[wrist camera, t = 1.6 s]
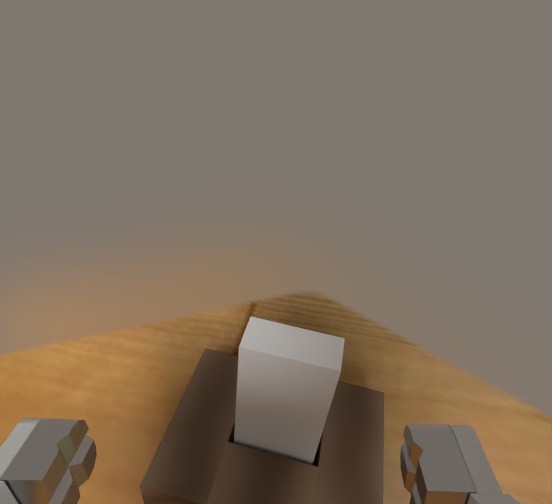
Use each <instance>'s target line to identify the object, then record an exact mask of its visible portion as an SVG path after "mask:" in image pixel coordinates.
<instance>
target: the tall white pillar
mask: <svg viewBox="0 0 552 504" xmlns="http://www.w3.org/2000/svg"><path fill="white" fill-rule="evenodd" d="M344 341H345V338H340V337H336V336H332V335H328V334H323V333H319V332H315V331H311V330H306V329H302V328H298V327H294V326H289V325H285V324H281V323H276V322H272V321H268V320H264V319H259V318H255V317H250V320H249V322H248V325H247V327H246V330H245V332H244V335H243V337H242V340H241V343H240V345H239V356H238V374H237V393H236V412H235V431H234V444H237V445H241V446H244V447H248V448H251V449H255V450H259V451H262V452H266V453H269V454H273V455H277V456H280V457H284V458H287V459H291V460H295V461H298V462H302V463H305V464H309V465H312V464H313V461H314V458H315V454H316V451H317V448H318V445H319V441H320V438H321V435H322V432H323V428H324V425H325V422H326V419H327V415H328V412H329V409H330V405H331V402H332V399H333V396H334V392H335V389H336V386H337V383H338V379H339V376H340V373H341V367H342V358H343V349H344Z"/></svg>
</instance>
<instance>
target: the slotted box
mask: <svg viewBox="0 0 552 504" xmlns="http://www.w3.org/2000/svg"><path fill="white" fill-rule="evenodd" d="M237 374H238V356H234V355H230V354H226V353H222V352H218V351H214V350H210V349H205V351H204V353H203V355H202V357H201V359H200V361H199V363H198V365H197V368H196V370H195V372H194V374H193V376H192V378H191V380H190V382H189V384H188V386H187V389H186V391H185V393H184V395H183V397H182V399H181V401H180V403H179V405H178V407H177V410H176V412H175V414H174V416H173V418H172V420H171V422H170V424H169V426H168V428H167V431H166V433H165V435H164V437H163V439H162V441H161V443H160V445H159V447H158V449H157V452H156V454H155V456H154V458H153V460H152V462H151V464H150V466H149V468H148V470H147V473H146V475H145V477H144V479H143V481H142V483H141V485H140V488H141V492H142V496H143V500H144V504H383V433H384V393H383V392H379V391H375V390H371V389H367V388H363V387H359V386H355V385H351V384H347V383H343V382H339V381H338V383H337V386H336V389H335V392H334V396H333V399H332V402H331V405H330V409H329V412H328V415H327V419H326V422H325V425H324V428H323V432H322V435H321V438H320V441H319V445H318V448H317V451H316V454H315V458H314V461H313V464H312V465H309V464H305V463H302V462H298V461H295V460H291V459H287V458H284V457H280V456H277V455H273V454H269V453H266V452H262V451H259V450H255V449H251V448H248V447H244V446H241V445H237V444H234V431H235V412H236V393H237Z"/></svg>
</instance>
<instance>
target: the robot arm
mask: <svg viewBox="0 0 552 504" xmlns="http://www.w3.org/2000/svg"><path fill="white" fill-rule="evenodd" d="M88 429H89V428H88V426H87V424H86V422H85V420H65V419H40V418H25V419H23V420H22V421H21V422H19V423H18V424H17V425H16V427H15V428H14V429H13V431H12V432H11V434H10V435H9V436H8V438H7V439H6V440H5V442H4V443H3V445H2V446H1V447H0V504H77V502H78V500H79V498H80V493H79V488H78V487H80V486H81V485H82V484H83V483H84V482H85V481H87V480H88V479H89V477H90V475H91V472H92V470H93V468H94V464H95V459H96V445H95V443H94V440H93V439H91V438H90V437H89V436H87V435H86V433H87V431H88ZM404 438H405V442H406V443H405V444H403V445H402V446H401V454H400V459H401V472H402V478H403V482H404V487H405V488H406V489H407V490H408V491H409V492H410V494H411V499H410V504H520V503H519V502H517V501H516V500H515V499H514V498H513V497H512V496H511V495H508V494H503V493H502V491H501V488H500V486H499V484H498V482H497V480H496V477H495V475H494V473H493V471H492V468H491V466H490V464H489V462H488V459H487V457H486V455H485V453H484V450H483V448H482V446H481V444H480V441H479V439H478V437H477V435H476V432H475V430H474V429H473V428H472V427H471V426H469V425H406V426H405V429H404Z"/></svg>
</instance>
